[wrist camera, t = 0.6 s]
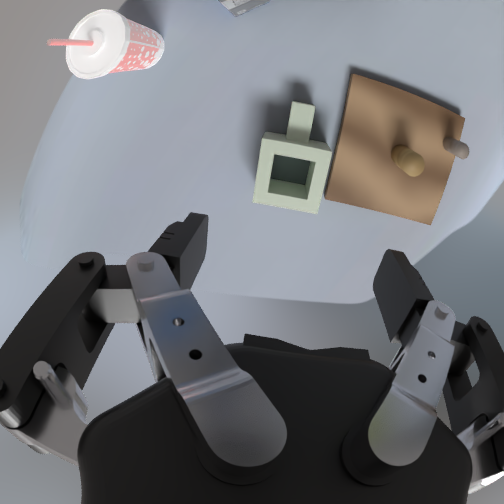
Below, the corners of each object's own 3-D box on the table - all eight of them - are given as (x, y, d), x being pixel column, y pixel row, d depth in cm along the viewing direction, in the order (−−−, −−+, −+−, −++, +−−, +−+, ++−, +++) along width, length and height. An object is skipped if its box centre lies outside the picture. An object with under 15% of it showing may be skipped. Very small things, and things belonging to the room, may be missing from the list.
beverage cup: (125, 25, 20) (30, 11, 8) (177, 23, 20) (93, -9, 8) (116, 75, 23) (18, 89, 12) (165, 77, 23) (75, 82, 12)
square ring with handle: (313, 197, 29) (317, 214, 26) (257, 187, 29) (252, 202, 26) (333, 109, 24) (340, 113, 20) (270, 97, 24) (268, 98, 20)
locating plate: (350, 74, 21) (362, 71, 18) (460, 116, 21) (483, 124, 17) (324, 195, 29) (329, 213, 25) (427, 221, 28) (443, 241, 24)
